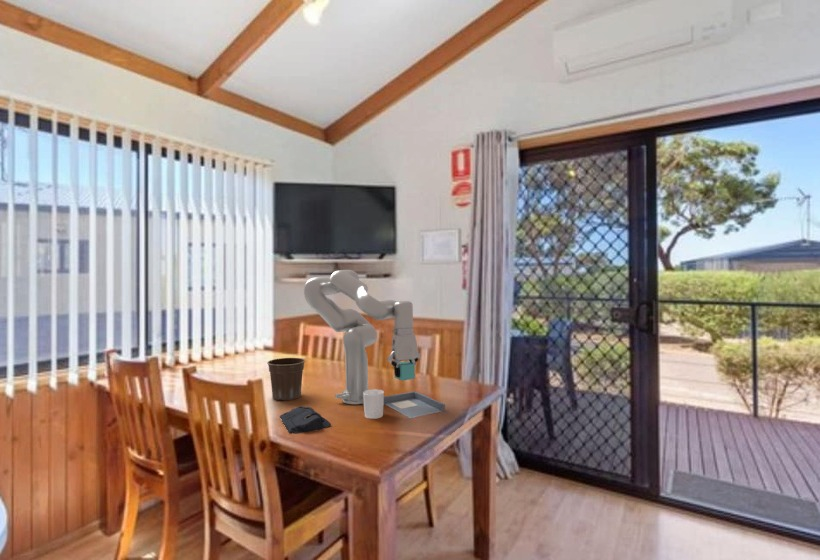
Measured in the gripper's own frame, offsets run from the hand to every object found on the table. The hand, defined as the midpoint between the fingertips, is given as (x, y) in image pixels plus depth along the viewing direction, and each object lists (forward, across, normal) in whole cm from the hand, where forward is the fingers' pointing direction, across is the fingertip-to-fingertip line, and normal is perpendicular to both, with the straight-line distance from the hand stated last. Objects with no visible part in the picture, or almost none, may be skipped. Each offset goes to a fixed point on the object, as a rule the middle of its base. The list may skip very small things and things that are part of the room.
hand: (404, 375), depth 182 cm
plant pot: (+13, -37, +41) cm, 57 cm away
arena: (+13, +1, -4) cm, 14 cm away
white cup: (+13, -17, -5) cm, 22 cm away
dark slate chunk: (+14, -40, +6) cm, 43 cm away
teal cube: (+1, 0, 0) cm, 1 cm away
